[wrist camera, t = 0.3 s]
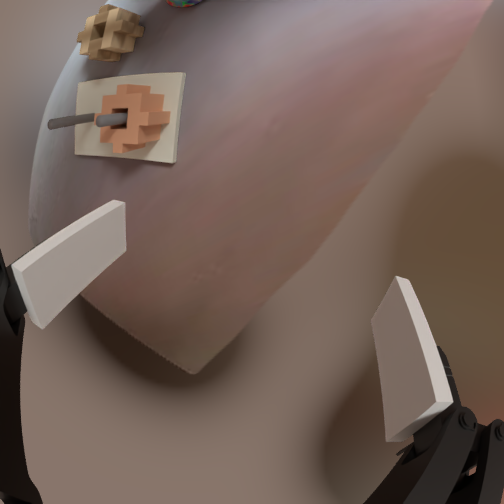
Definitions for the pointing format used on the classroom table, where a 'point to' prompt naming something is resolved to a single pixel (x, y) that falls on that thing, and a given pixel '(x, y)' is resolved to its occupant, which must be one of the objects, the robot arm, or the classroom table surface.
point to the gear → (110, 34)
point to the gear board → (110, 88)
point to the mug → (182, 2)
